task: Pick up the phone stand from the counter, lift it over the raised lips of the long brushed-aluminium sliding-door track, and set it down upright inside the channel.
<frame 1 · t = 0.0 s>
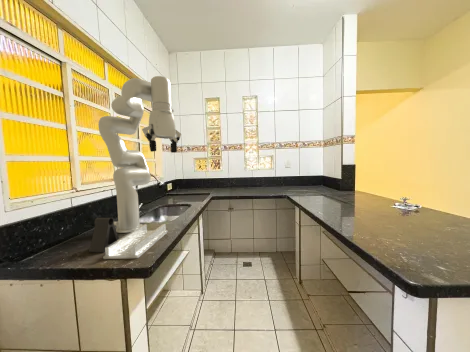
hand: (164, 151, 83), 37 cm above the countertop, tool pointing down, fingers open, 9 cm apart
phone stand: (105, 248, 80), on the countertop
aluminium track: (140, 243, 83), on the countertop
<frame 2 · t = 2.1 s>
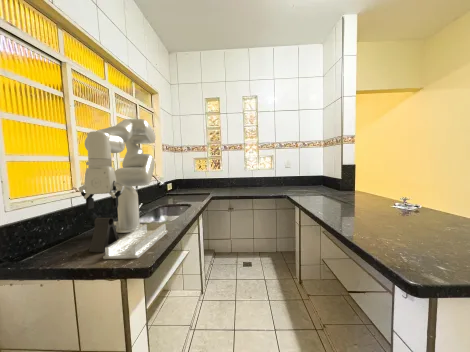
hand: (102, 208, 78), 16 cm above the countertop, tool pointing down, fingers open, 9 cm apart
nothing on the countertop moved.
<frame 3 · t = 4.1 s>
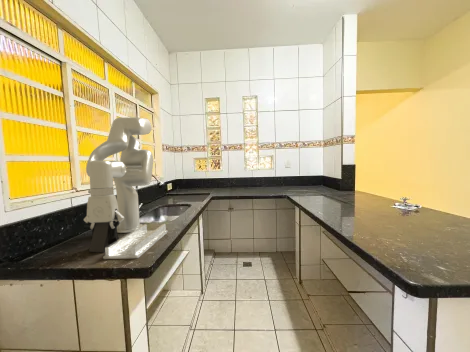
hand: (105, 237, 79), 4 cm above the countertop, tool pointing down, fingers closed on phone stand, 6 cm apart
phone stand: (105, 248, 80), on the countertop, touching gripper
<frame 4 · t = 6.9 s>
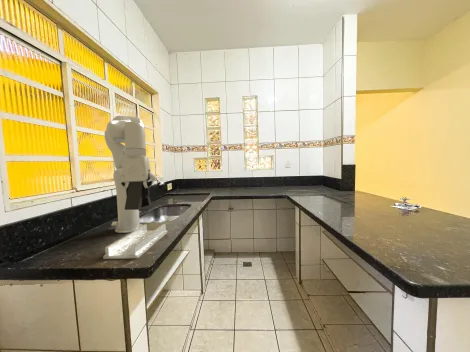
hand: (138, 197, 82), 19 cm above the countertop, tool pointing down, fingers closed on phone stand, 6 cm apart
phone stand: (138, 208, 82), point 15 cm above the countertop, touching gripper
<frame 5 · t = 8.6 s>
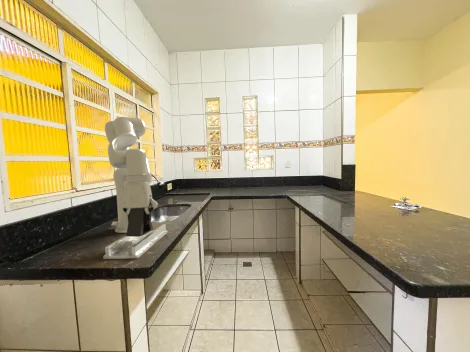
hand: (139, 223, 83), 8 cm above the countertop, tool pointing down, fingers closed on phone stand, 6 cm apart
phone stand: (140, 233, 83), point 4 cm above the countertop, touching gripper
when the fingers open (6 cm above the countertop, at t = 10.0 s): phone stand drops 1 cm, resting on aluminium track.
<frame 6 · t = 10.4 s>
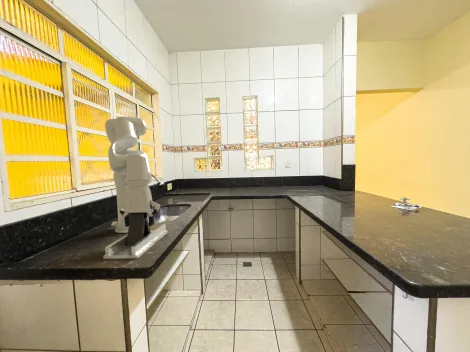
hand: (139, 225, 83), 7 cm above the countertop, tool pointing down, fingers open, 9 cm apart
phone stand: (139, 241, 83), point 1 cm above the countertop, touching aluminium track
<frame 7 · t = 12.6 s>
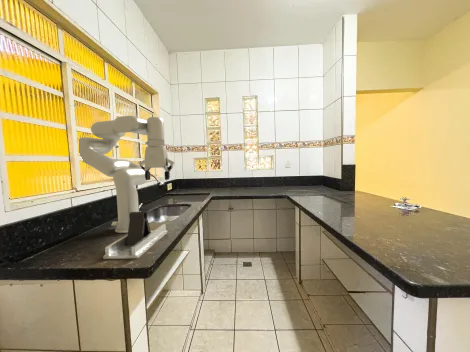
hand: (157, 179, 97), 25 cm above the countertop, tool pointing down, fingers open, 9 cm apart
nothing on the countertop moved.
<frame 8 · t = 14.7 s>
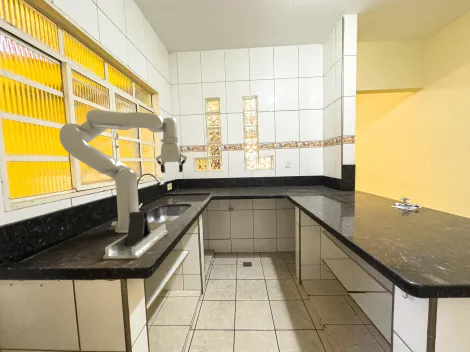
hand: (172, 172, 112), 28 cm above the countertop, tool pointing down, fingers open, 9 cm apart
nothing on the countertop moved.
at the end: phone stand inside the target area on the aluminium track (0.4 cm from its centre), point 0.8 cm above the aluminium track's base; phone stand tilted 0°; the gripper is holding nothing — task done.
